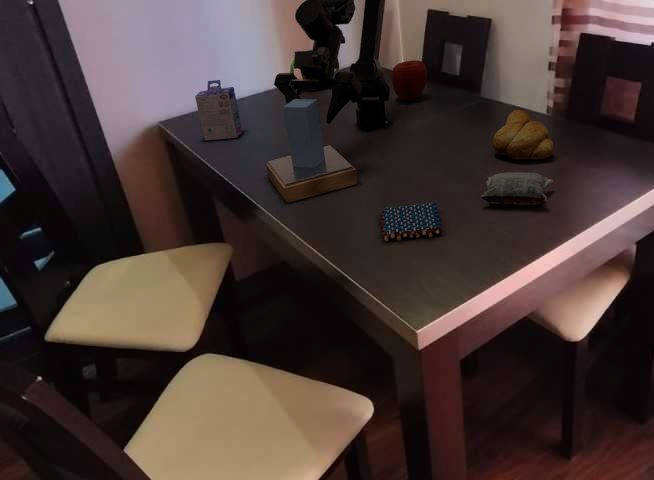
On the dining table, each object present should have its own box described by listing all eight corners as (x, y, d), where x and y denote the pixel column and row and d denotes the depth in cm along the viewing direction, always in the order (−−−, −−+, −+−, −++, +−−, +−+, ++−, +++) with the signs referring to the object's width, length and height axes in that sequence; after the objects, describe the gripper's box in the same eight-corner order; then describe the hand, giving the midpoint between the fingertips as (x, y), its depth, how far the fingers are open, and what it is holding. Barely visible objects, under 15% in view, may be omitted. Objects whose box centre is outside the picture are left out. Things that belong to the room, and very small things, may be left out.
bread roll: (563, 155, 129) (567, 116, 124) (527, 170, 126) (530, 131, 121) (517, 141, 139) (519, 104, 134) (483, 154, 136) (484, 117, 131)
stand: (333, 160, 147) (331, 143, 144) (357, 184, 134) (355, 166, 132) (268, 177, 145) (265, 161, 142) (286, 203, 132) (283, 185, 129)
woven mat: (380, 216, 120) (379, 206, 119) (436, 210, 119) (436, 200, 117) (382, 242, 112) (381, 232, 111) (442, 236, 110) (442, 226, 109)
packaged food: (487, 188, 123) (488, 164, 120) (552, 190, 118) (555, 165, 115) (479, 209, 117) (480, 184, 114) (547, 212, 112) (549, 186, 109)
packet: (325, 159, 137) (317, 99, 130) (314, 168, 134) (306, 107, 126) (303, 157, 140) (294, 98, 132) (292, 166, 137) (282, 106, 129)
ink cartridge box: (243, 131, 174) (232, 77, 165) (238, 138, 170) (227, 83, 161) (210, 134, 176) (198, 81, 168) (204, 141, 172) (191, 87, 163)
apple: (392, 95, 178) (390, 58, 172) (426, 91, 176) (425, 53, 170) (392, 106, 170) (390, 68, 165) (428, 102, 169) (427, 63, 163)
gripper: (270, 33, 131) (253, 104, 131) (350, 29, 123) (332, 105, 122) (293, 61, 141) (278, 128, 141) (369, 59, 132) (353, 130, 132)
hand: (308, 122), depth 134 cm, fingers open, 9 cm apart
